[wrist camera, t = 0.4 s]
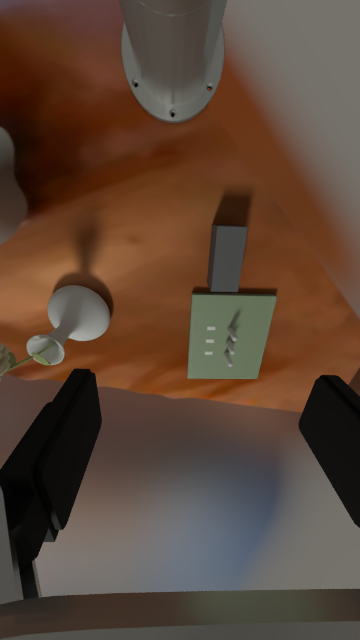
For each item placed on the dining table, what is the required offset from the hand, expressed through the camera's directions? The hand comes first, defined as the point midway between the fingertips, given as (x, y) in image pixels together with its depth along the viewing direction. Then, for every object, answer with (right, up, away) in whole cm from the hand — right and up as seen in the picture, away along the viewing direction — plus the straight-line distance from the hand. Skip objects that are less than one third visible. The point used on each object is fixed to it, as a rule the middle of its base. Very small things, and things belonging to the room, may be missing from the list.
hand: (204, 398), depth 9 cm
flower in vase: (-21, +5, +33) cm, 40 cm away
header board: (+9, -1, +37) cm, 38 cm away
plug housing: (+6, +15, +29) cm, 33 cm away
